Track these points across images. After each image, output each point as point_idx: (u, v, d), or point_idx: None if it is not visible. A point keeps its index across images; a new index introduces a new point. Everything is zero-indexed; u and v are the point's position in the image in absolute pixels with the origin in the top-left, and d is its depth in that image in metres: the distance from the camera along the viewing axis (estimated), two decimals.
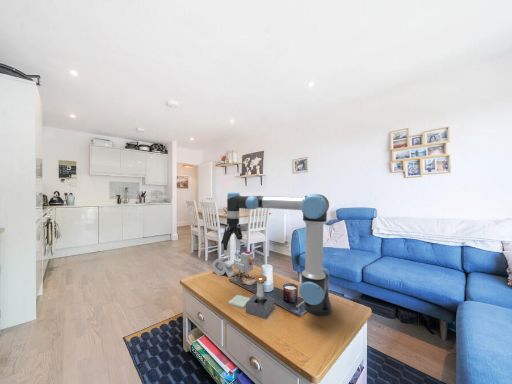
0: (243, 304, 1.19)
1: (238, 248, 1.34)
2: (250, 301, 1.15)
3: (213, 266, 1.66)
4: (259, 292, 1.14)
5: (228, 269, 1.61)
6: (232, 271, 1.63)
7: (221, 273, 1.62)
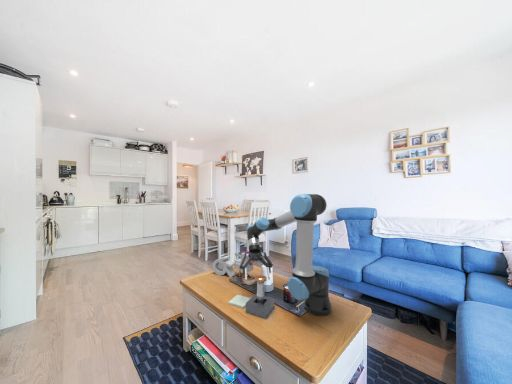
0: (243, 304, 1.19)
1: (268, 277, 1.23)
2: (250, 301, 1.15)
3: (213, 266, 1.65)
4: (259, 292, 1.14)
5: (229, 269, 1.61)
6: (233, 271, 1.63)
7: (222, 273, 1.62)
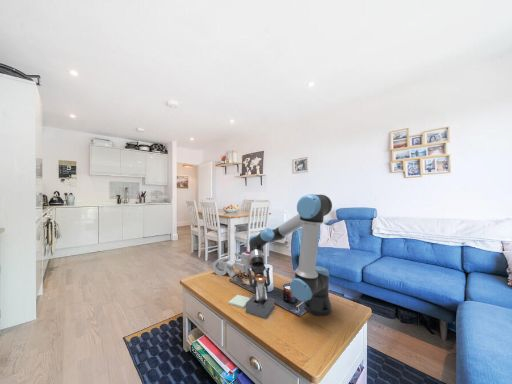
0: (243, 304, 1.19)
1: (265, 297, 1.13)
2: (250, 301, 1.15)
3: (213, 267, 1.64)
4: (259, 292, 1.14)
5: (230, 269, 1.61)
6: (234, 271, 1.64)
7: (222, 273, 1.62)
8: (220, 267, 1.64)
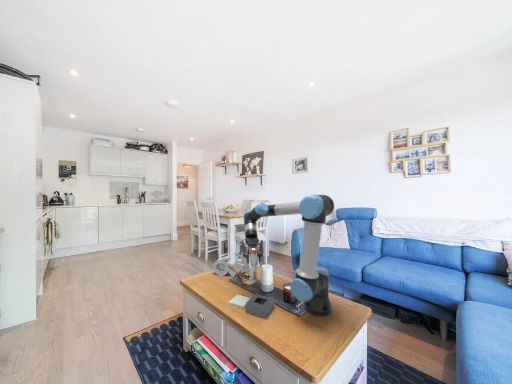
0: (243, 304, 1.19)
1: (257, 266, 1.16)
2: (250, 301, 1.15)
3: (214, 267, 1.63)
4: (252, 261, 1.17)
5: (231, 269, 1.61)
6: (234, 271, 1.64)
7: (223, 273, 1.61)
8: (221, 267, 1.64)
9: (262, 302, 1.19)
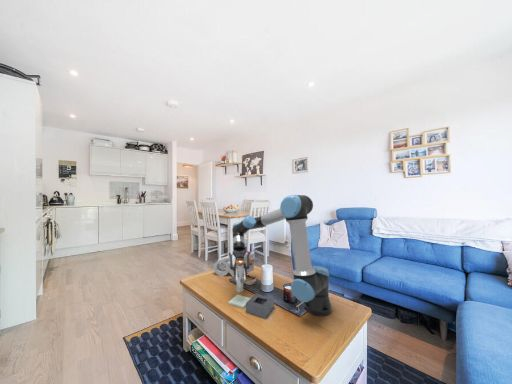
0: (243, 304, 1.19)
1: (244, 278, 1.21)
2: (250, 301, 1.15)
3: (214, 267, 1.63)
4: (238, 274, 1.22)
5: None
6: None
7: (224, 273, 1.61)
8: (221, 267, 1.63)
9: (262, 302, 1.19)
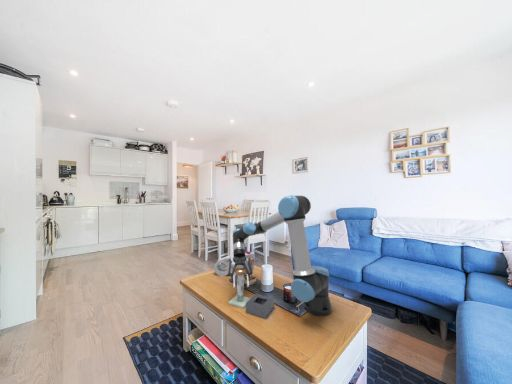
0: (243, 304, 1.19)
1: (247, 284, 1.21)
2: (250, 301, 1.15)
3: (215, 268, 1.62)
4: (239, 283, 1.22)
5: (232, 269, 1.62)
6: None
7: (225, 273, 1.61)
8: (222, 268, 1.63)
9: (262, 302, 1.19)
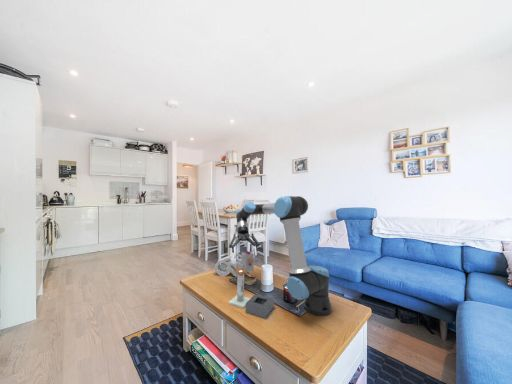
0: (243, 304, 1.19)
1: (255, 254, 1.35)
2: (250, 301, 1.15)
3: (216, 268, 1.62)
4: (239, 283, 1.22)
5: (233, 269, 1.62)
6: None
7: (225, 273, 1.61)
8: (222, 268, 1.63)
9: (262, 302, 1.19)
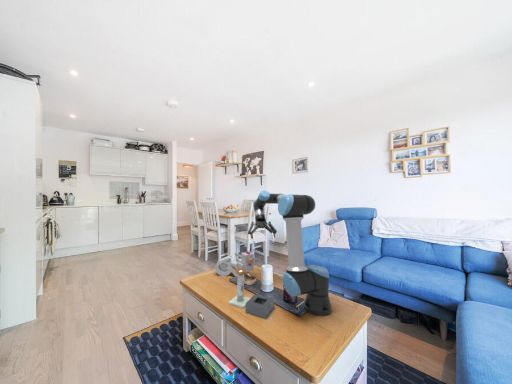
0: (243, 304, 1.19)
1: (273, 240, 1.42)
2: (250, 301, 1.15)
3: (216, 268, 1.62)
4: (239, 283, 1.22)
5: (234, 268, 1.62)
6: None
7: (226, 273, 1.61)
8: (223, 268, 1.63)
9: (262, 302, 1.19)
